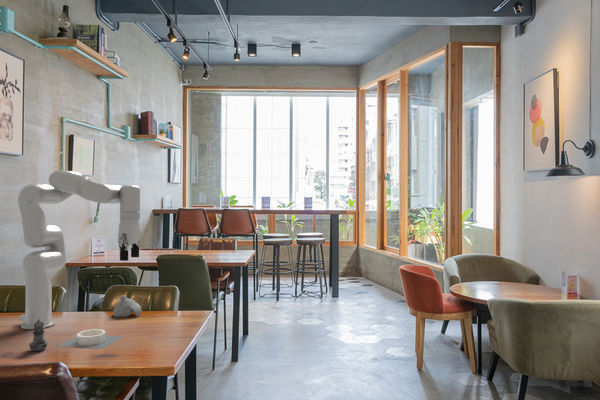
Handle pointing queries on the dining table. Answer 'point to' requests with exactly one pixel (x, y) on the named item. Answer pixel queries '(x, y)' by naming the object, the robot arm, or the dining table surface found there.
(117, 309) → the grey clay mound
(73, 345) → the board
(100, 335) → the white round dish
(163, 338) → the dining table surface
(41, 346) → the dark grey chess piece
